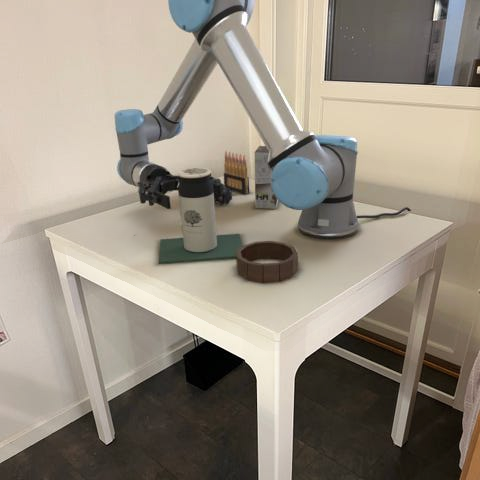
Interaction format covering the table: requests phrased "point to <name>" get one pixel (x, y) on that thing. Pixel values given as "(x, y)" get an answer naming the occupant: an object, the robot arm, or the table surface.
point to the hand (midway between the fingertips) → (194, 196)
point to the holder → (266, 270)
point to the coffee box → (263, 181)
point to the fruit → (222, 193)
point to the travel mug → (197, 209)
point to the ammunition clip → (236, 173)
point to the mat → (177, 253)
